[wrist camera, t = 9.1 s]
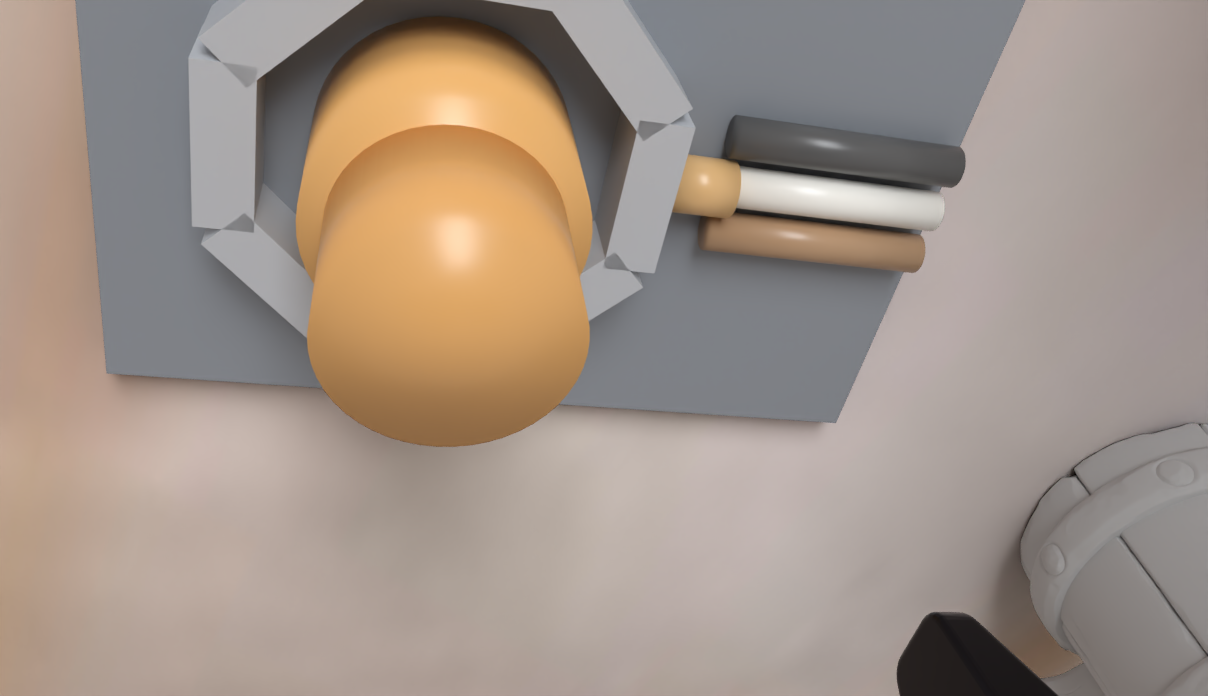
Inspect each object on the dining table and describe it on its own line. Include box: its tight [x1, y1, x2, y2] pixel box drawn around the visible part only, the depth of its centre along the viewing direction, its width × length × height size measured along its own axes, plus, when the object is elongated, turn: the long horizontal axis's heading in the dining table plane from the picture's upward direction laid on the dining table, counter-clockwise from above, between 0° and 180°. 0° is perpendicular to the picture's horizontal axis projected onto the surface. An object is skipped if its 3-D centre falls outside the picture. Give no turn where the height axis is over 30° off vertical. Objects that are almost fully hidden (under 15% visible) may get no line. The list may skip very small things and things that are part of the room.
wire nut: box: [296, 16, 593, 447], centre depth 16 cm, size 5×5×6 cm
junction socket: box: [75, 0, 1025, 423], centre depth 19 cm, size 16×12×2 cm
